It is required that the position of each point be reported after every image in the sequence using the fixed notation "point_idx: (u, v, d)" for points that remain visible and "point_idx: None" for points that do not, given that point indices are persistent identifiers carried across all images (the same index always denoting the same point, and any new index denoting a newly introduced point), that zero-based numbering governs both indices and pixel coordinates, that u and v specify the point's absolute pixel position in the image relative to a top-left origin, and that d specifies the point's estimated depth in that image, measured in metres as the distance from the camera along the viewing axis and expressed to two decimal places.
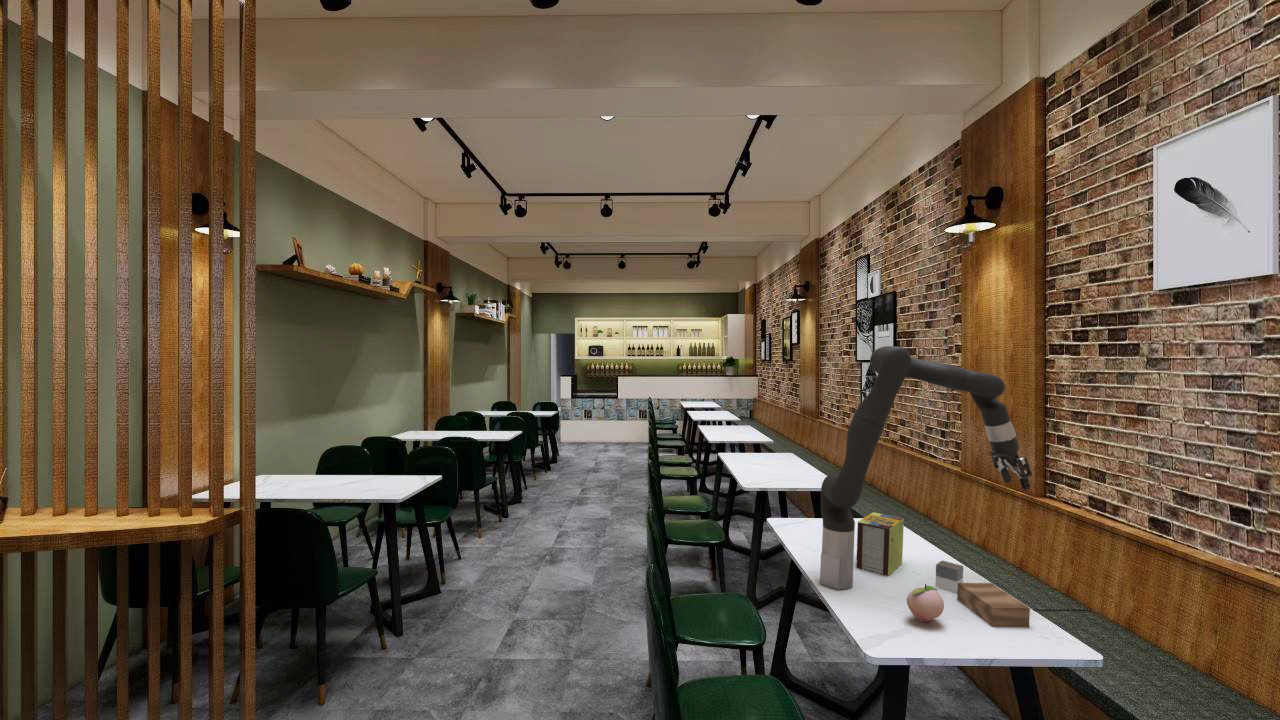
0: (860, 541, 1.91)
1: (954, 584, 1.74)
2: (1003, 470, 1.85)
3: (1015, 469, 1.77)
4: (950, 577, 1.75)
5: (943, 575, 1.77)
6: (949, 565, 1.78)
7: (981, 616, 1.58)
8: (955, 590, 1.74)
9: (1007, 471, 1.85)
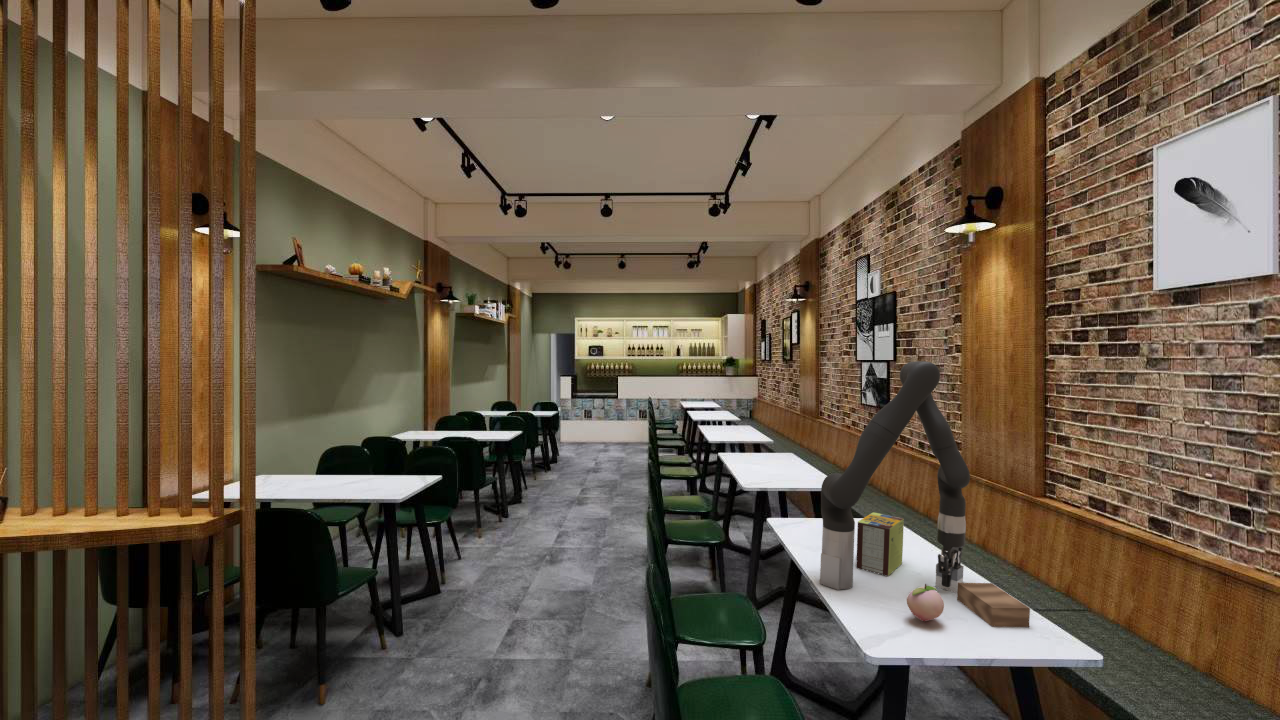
0: (860, 541, 1.91)
1: (954, 584, 1.74)
2: None
3: None
4: (950, 577, 1.75)
5: None
6: None
7: (981, 616, 1.58)
8: (955, 590, 1.74)
9: None
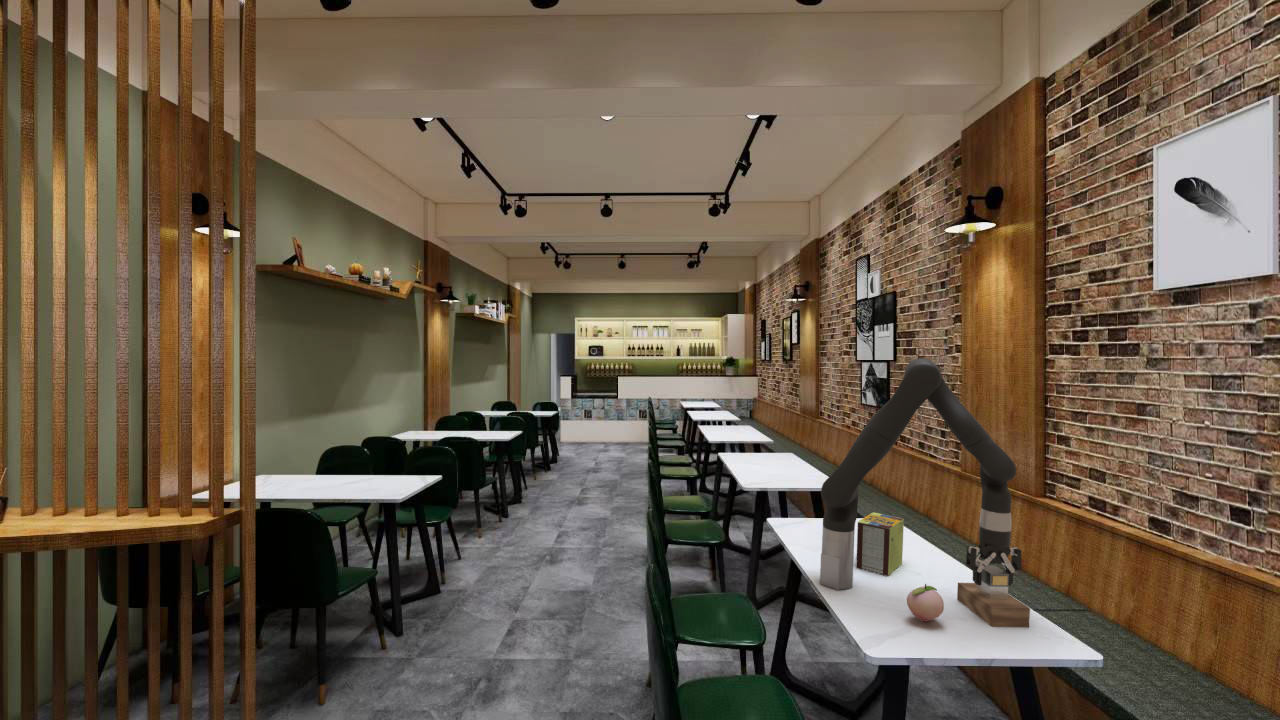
0: (860, 541, 1.91)
1: None
2: None
3: None
4: None
5: None
6: (994, 569, 1.61)
7: (981, 616, 1.58)
8: None
9: None
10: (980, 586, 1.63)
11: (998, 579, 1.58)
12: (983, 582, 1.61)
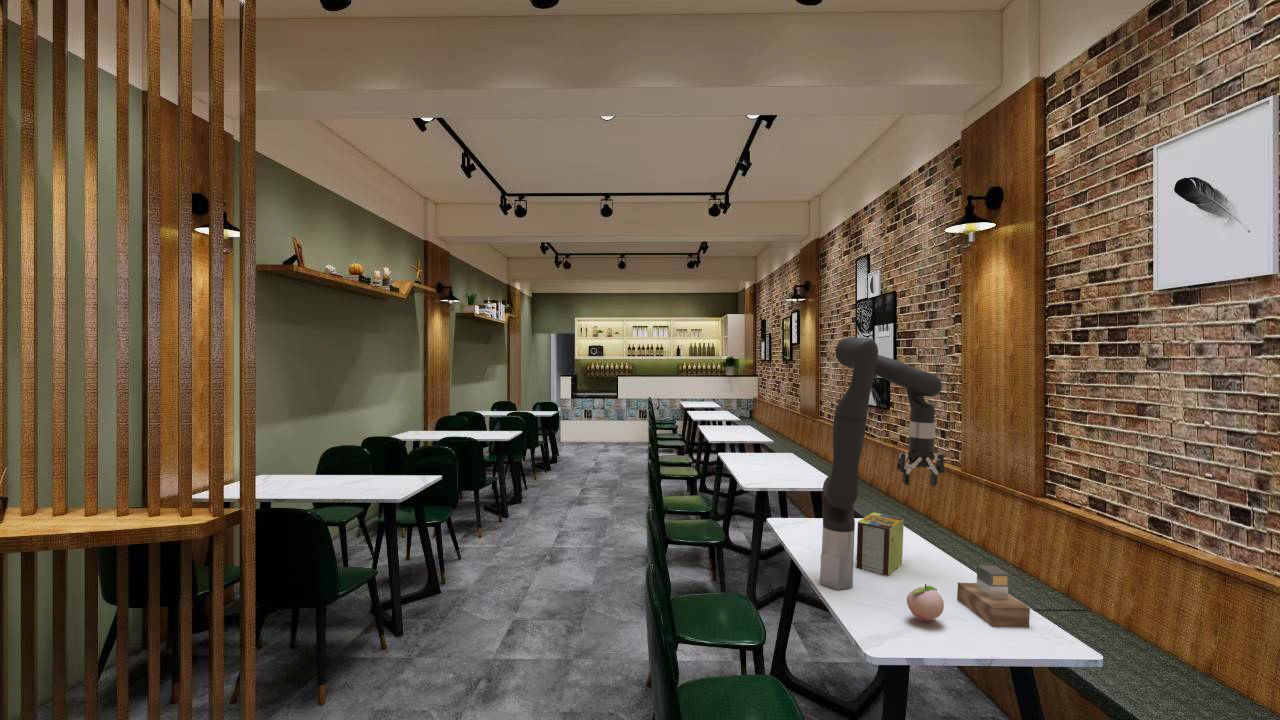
0: (860, 541, 1.91)
1: None
2: None
3: None
4: None
5: None
6: (994, 569, 1.61)
7: (981, 616, 1.58)
8: None
9: None
10: (980, 586, 1.63)
11: (998, 579, 1.58)
12: (983, 582, 1.61)
